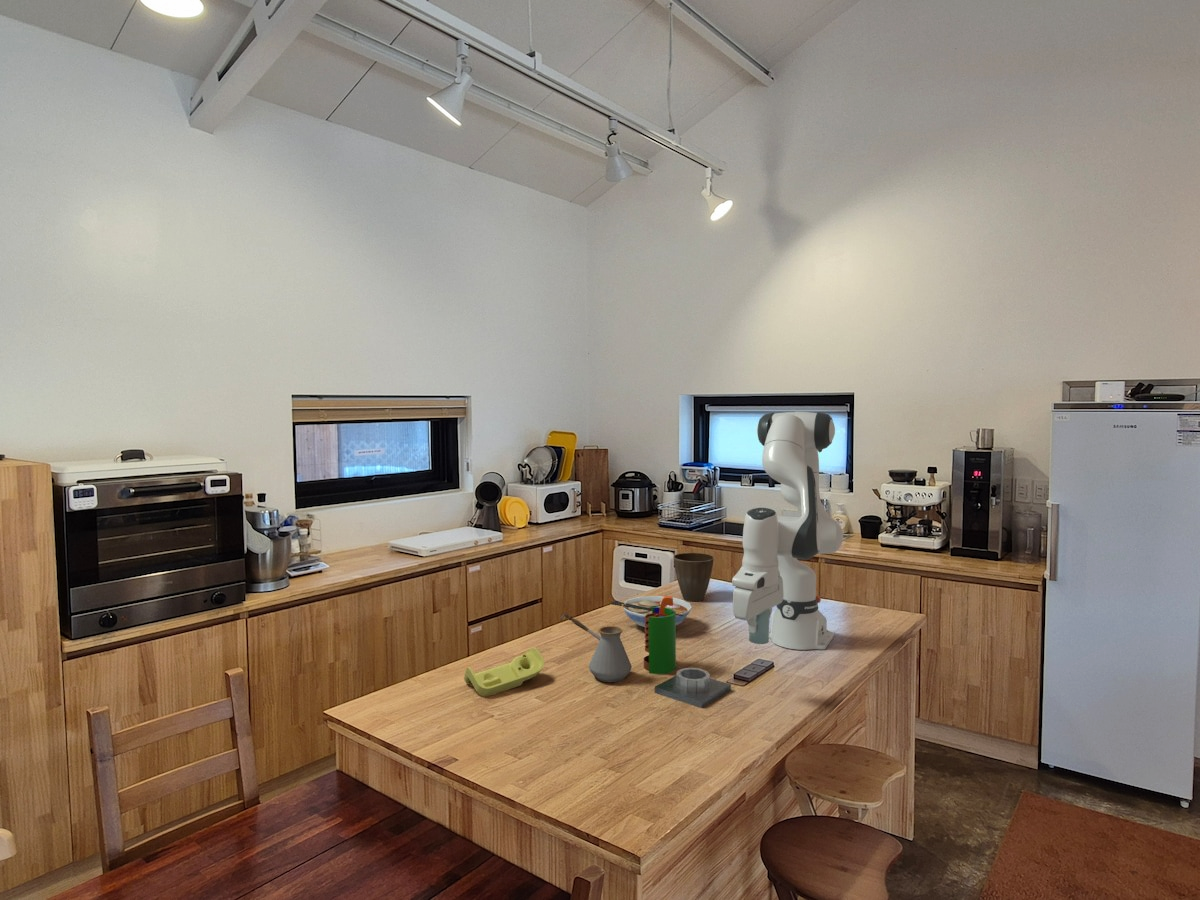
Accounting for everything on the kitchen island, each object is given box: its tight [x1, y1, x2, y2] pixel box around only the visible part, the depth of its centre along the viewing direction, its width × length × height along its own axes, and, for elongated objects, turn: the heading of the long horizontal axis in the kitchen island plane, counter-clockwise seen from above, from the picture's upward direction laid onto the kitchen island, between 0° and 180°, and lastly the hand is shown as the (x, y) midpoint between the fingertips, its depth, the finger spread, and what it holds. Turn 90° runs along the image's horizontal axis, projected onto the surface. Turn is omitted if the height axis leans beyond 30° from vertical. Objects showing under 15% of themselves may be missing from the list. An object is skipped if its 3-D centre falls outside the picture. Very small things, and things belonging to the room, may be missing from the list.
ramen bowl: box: [611, 595, 692, 628], centre depth 234 cm, size 25×23×8 cm
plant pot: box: [673, 552, 715, 603], centre depth 267 cm, size 15×15×16 cm
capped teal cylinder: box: [748, 609, 770, 645], centre depth 179 cm, size 5×5×10 cm
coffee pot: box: [560, 612, 632, 683], centre depth 194 cm, size 21×12×15 cm, turn 58°
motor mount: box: [654, 667, 732, 709], centre depth 183 cm, size 14×14×4 cm
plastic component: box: [463, 647, 545, 697], centre depth 188 cm, size 20×7×10 cm
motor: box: [643, 595, 677, 675], centre depth 198 cm, size 10×9×20 cm
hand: (759, 628), depth 179 cm, fingers closed on capped teal cylinder, 5 cm apart
